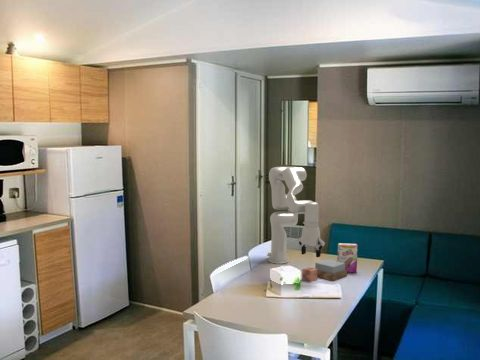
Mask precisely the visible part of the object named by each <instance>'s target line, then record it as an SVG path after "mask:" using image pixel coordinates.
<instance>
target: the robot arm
mask: <svg viewBox="0 0 480 360" xmlns="http://www.w3.org/2000/svg"><path fill="white" fill-rule="evenodd" d="M307 177H308V175H307V171H306V169H305V168H304V167H301V166H275V167H272V168H270V170H269V173H268V179H269V183H270V187H271V204H272V208H273V209H274V210H280V211H276V212H273V213H271V215H270V217H269V218H270V220H269V221H270V227H271V228H270V229H271V241H270V242H271V245H270V247H271V248H270V249H271V251H270V252H268V253H267V254H266V256H267V257H269V258H268V262H269V263H272V264H276V265H279V264H281V265H284V264H287V263H289V259H288V258H287V240H288V239H287V238H288V237H287V235H288V234H287V232H286V230H285V228H287V227H295V226H297V224H298V222H299V221H298V219H299V215H301V214H303V215H304V221H303V222H302V224H304V226H303V227H302V230H301V236H300V237H298V238H297V241H298V244H299V245H300V248H301V250H300V251H301V255H305V254H306V253H307V246H310V247H315V249H316V250H315V257H316V258H320V257H321V255H322V249H323V248H324V246H325V244H326V242H325V241H324V240H323V239H322V238H321V230H320V227H319V209H320V208H319V205H320V204H319V203H318V202H317V201H313V200H310V199H308V200H307V199H305V200H303V199H302V200H297V197H296V195H297V194H299V193H301V192H302V191H303V189H304V185H303V183H302V182H303V181H306V179H307ZM282 181H284V182H285V184H286V187H287V188H288V191H287V193H286V187H285V184H284V183H283V182H282ZM281 210H286V211H281Z"/></svg>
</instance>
